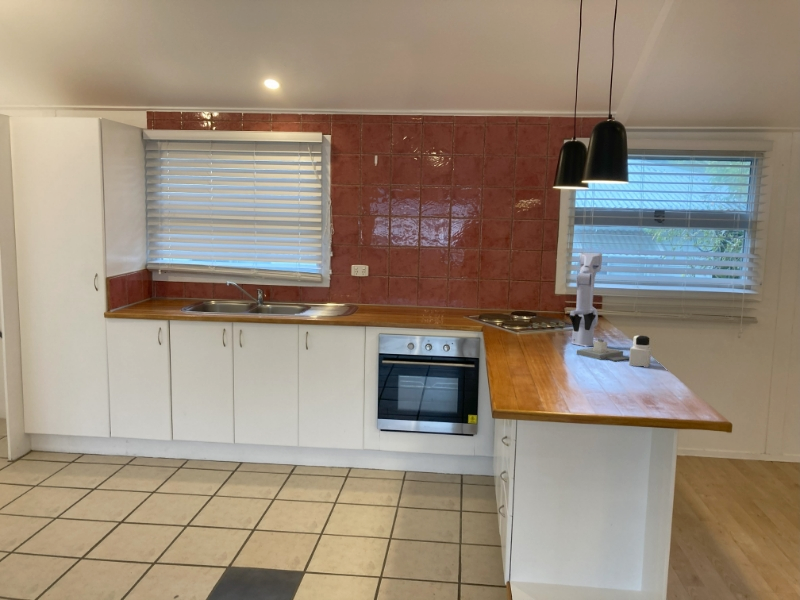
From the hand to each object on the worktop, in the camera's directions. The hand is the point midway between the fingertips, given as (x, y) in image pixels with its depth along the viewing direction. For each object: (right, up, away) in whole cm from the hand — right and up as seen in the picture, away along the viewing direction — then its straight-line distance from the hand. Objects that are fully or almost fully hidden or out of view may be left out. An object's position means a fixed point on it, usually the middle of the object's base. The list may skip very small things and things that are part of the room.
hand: (581, 330), depth 268 cm
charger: (+6, -11, -5) cm, 13 cm away
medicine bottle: (+17, -13, -22) cm, 31 cm away
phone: (+12, -12, -12) cm, 21 cm away
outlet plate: (+7, -11, -4) cm, 13 cm away
